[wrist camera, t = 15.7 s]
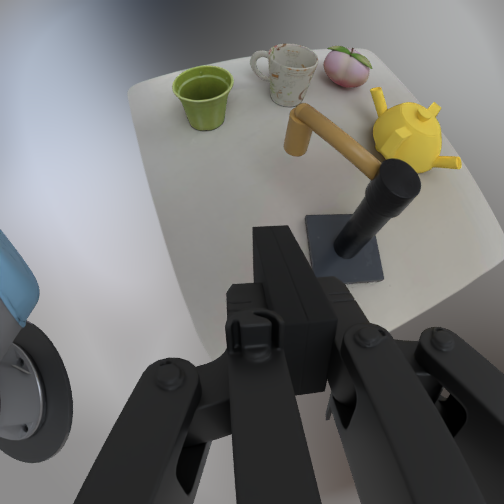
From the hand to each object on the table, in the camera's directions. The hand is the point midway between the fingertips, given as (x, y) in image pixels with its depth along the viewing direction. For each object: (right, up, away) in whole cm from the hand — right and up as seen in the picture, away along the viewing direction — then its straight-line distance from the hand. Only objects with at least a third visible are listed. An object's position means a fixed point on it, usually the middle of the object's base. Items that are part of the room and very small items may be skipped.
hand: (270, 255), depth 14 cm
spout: (+9, +8, +21) cm, 24 cm away
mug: (+4, +30, +40) cm, 50 cm away
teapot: (+26, +18, +37) cm, 48 cm away
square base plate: (+12, +1, +29) cm, 32 cm away
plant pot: (-9, +23, +37) cm, 44 cm away
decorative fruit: (+18, +34, +42) cm, 57 cm away
